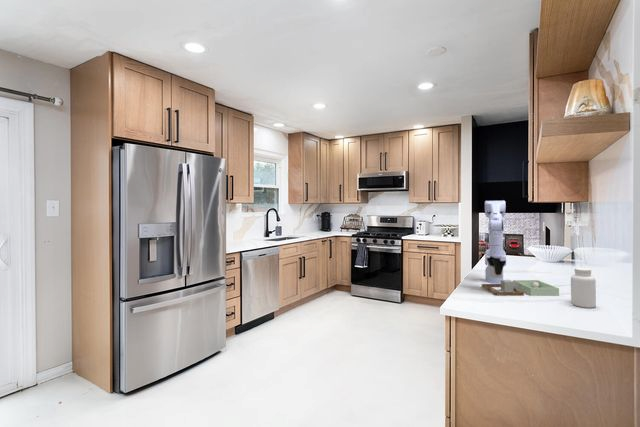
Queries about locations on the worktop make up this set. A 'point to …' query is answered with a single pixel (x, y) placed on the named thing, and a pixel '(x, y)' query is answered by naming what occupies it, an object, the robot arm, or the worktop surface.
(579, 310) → the worktop surface
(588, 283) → the pill bottle
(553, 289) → the green bin
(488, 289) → the walnut tray
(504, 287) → the stone
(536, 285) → the white ball
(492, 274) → the grey rectangular block
